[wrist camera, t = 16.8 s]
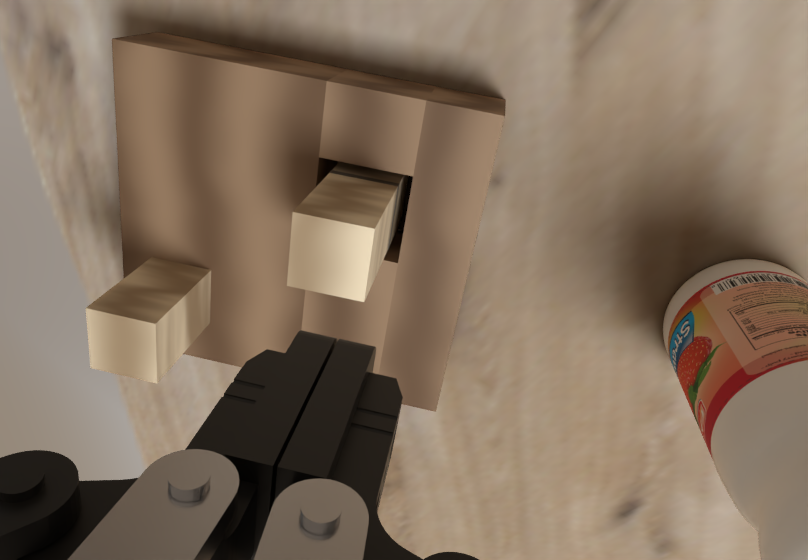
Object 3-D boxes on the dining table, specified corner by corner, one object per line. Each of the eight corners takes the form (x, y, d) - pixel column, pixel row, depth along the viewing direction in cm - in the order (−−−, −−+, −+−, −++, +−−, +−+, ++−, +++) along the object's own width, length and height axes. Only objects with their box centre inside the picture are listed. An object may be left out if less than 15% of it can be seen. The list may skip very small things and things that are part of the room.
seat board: (505, 99, 37) (503, 147, 27) (442, 370, 46) (422, 487, 36) (157, 31, 39) (23, 51, 28) (162, 307, 48) (62, 401, 37)
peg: (411, 161, 40) (375, 228, 29) (401, 219, 42) (364, 302, 31) (350, 150, 40) (292, 211, 29) (343, 208, 42) (286, 285, 31)
